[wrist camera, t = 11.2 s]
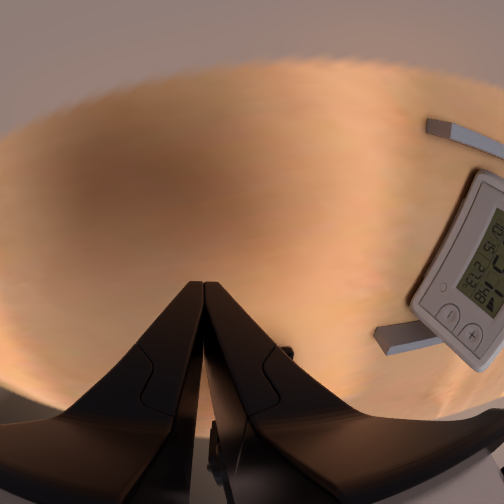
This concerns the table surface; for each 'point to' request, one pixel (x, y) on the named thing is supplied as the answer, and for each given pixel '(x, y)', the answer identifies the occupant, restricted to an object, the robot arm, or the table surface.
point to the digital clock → (469, 277)
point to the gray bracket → (417, 332)
